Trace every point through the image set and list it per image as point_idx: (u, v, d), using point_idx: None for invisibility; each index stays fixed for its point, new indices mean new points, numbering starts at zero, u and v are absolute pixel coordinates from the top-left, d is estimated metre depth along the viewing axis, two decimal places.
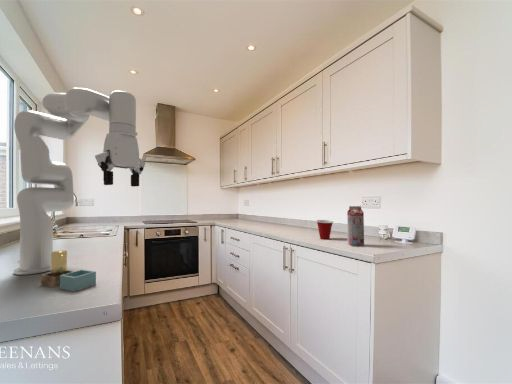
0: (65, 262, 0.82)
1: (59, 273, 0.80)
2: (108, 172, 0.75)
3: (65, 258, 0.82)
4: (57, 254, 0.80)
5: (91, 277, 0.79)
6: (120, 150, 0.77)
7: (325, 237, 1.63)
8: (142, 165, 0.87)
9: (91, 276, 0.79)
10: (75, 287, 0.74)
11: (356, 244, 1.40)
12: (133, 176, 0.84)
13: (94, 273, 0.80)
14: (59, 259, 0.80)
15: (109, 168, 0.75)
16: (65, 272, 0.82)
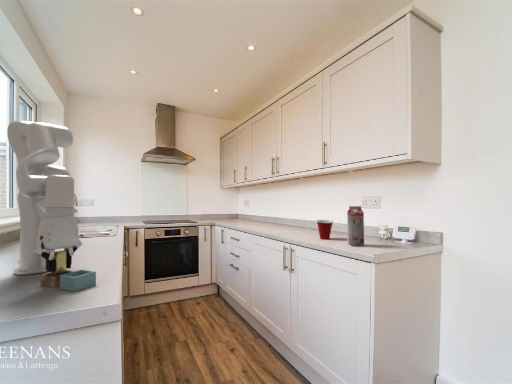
0: (65, 262, 0.82)
1: (59, 273, 0.80)
2: (50, 260, 0.79)
3: (65, 258, 0.82)
4: (57, 254, 0.80)
5: (91, 277, 0.79)
6: (54, 234, 0.79)
7: (325, 237, 1.63)
8: (77, 245, 0.87)
9: (91, 276, 0.79)
10: (75, 287, 0.74)
11: (356, 244, 1.40)
12: None
13: (94, 273, 0.80)
14: (59, 259, 0.80)
15: (50, 257, 0.79)
16: (65, 272, 0.82)
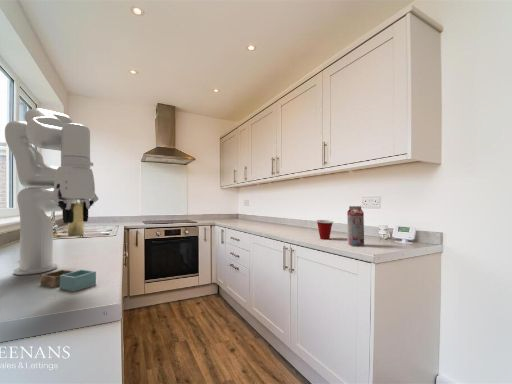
0: (82, 214, 0.79)
1: (76, 224, 0.77)
2: (67, 210, 0.76)
3: (82, 210, 0.79)
4: (74, 204, 0.77)
5: (91, 277, 0.79)
6: (71, 183, 0.76)
7: (325, 237, 1.63)
8: (94, 199, 0.84)
9: (91, 276, 0.79)
10: (75, 287, 0.74)
11: (356, 244, 1.40)
12: None
13: (94, 273, 0.80)
14: (76, 210, 0.78)
15: (67, 207, 0.76)
16: (82, 224, 0.79)
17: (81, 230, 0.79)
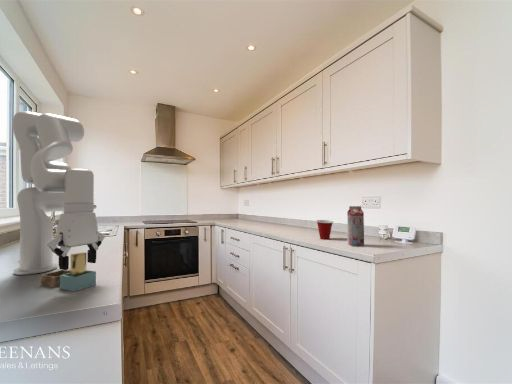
0: (85, 265, 0.79)
1: None
2: (63, 257, 0.74)
3: (85, 260, 0.79)
4: (76, 256, 0.77)
5: (91, 277, 0.79)
6: (74, 231, 0.75)
7: (325, 237, 1.63)
8: (101, 239, 0.85)
9: (91, 276, 0.79)
10: (75, 287, 0.74)
11: (356, 244, 1.40)
12: (90, 252, 0.82)
13: (94, 273, 0.80)
14: (79, 262, 0.77)
15: (64, 253, 0.74)
16: None
17: None
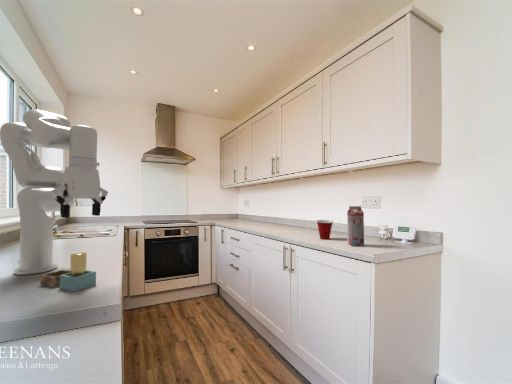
0: (85, 265, 0.79)
1: None
2: (65, 205, 0.78)
3: (85, 261, 0.79)
4: (76, 256, 0.77)
5: (91, 277, 0.79)
6: (78, 183, 0.80)
7: (325, 237, 1.63)
8: (104, 194, 0.90)
9: (91, 276, 0.79)
10: (75, 287, 0.74)
11: (356, 244, 1.40)
12: (94, 206, 0.87)
13: (94, 273, 0.80)
14: (79, 262, 0.77)
15: (66, 202, 0.77)
16: None
17: None
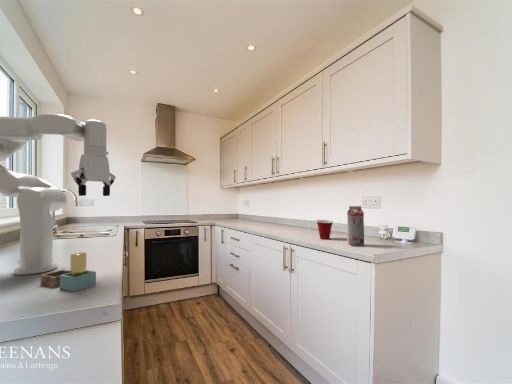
0: (85, 265, 0.79)
1: None
2: (82, 185, 0.94)
3: (85, 260, 0.79)
4: (76, 256, 0.77)
5: (91, 277, 0.79)
6: (92, 168, 0.96)
7: (325, 237, 1.63)
8: (113, 178, 1.06)
9: (91, 276, 0.79)
10: (75, 287, 0.74)
11: (356, 244, 1.40)
12: (105, 187, 1.04)
13: (94, 273, 0.80)
14: (79, 262, 0.77)
15: (83, 182, 0.94)
16: None
17: None
